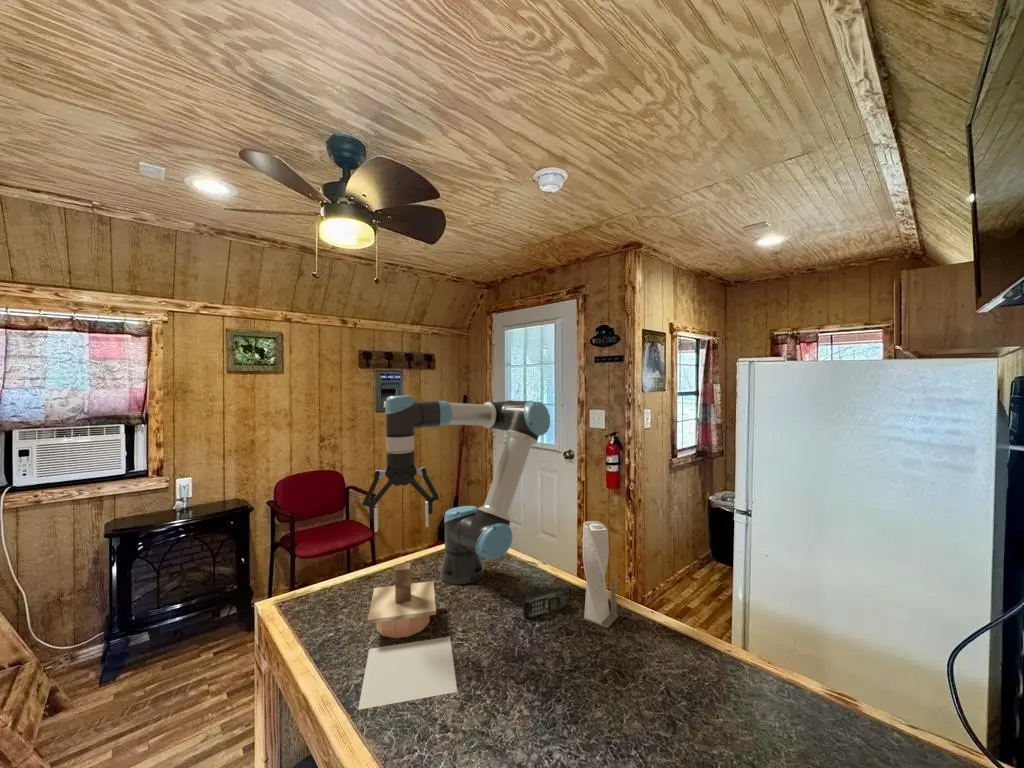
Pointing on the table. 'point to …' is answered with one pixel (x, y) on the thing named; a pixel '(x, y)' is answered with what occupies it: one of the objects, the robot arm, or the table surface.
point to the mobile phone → (544, 604)
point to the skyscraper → (597, 575)
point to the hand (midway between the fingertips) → (402, 528)
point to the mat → (408, 672)
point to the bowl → (402, 627)
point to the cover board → (402, 609)
